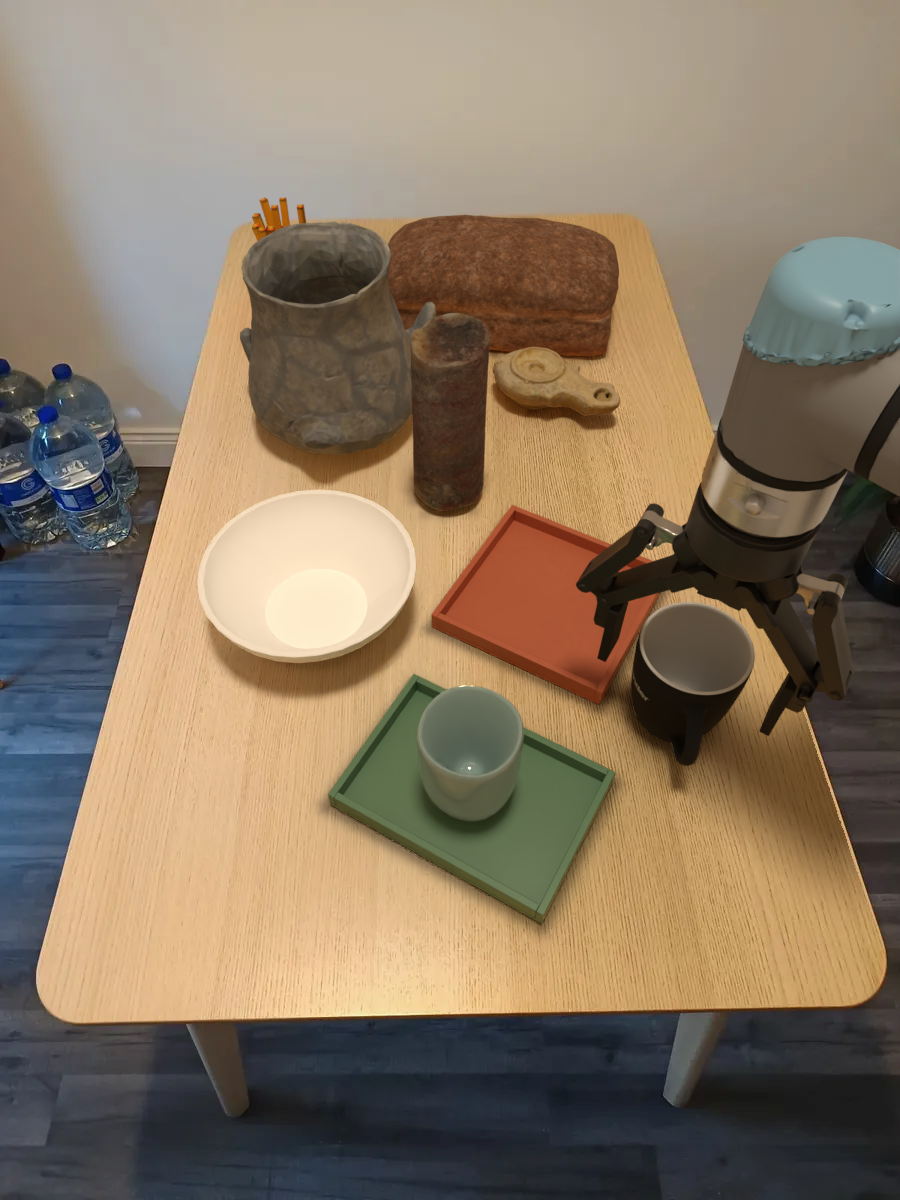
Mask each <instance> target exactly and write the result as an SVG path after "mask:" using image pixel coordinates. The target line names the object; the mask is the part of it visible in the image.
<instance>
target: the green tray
mask: <svg viewBox="0 0 900 1200" xmlns="http://www.w3.org/2000/svg"><path fill="white" fill-rule="evenodd" d="M445 690H448V689H447V688H444V687H442V686H441V685H438V684H436V683H434V682H432V681H430V680H428V679H426V678H424V677H422V676H420V675H418V674H416V673H413V674H412V676H411V677H410V679H409V680H408V681H407V683H406V684H405V685H404V687H403V688H402V690H401V691H400V692H399V694H398V695H397V696H396V698H395V699H394V701H393V702H392V704H391V705H390V706H389V708H388V709H387V711H386V712H385V713H384V715H383V716H382V718H381V719H380V721H379V722H378V723H377V725H376V726H375V727H374V729H373V730H372V732H371V733H370V734H369V736H368V737H367V738H366V740H365V741H364V743H363V744H362V745H361V747H360V748H359V750H358V751H357V753H356V754H355V755H354V757H353V758H352V760H350V762H349V764H348V765H347V766H346V768H345V769H344V770H343V772H342V773H341V775H340V777H339V778H338V779H337V781H336V782H335V783H334V785H333V786H332V788H331V789H330V790H329V791H328V793H327V796H328V800H329V803H330V806H332V807H334V808H336V809H337V810H339V811H341V812H342V813H345V814H346V815H348V816H350V817H352V818H353V819H355V820H357V821H358V822H360V823H362V824H364V825H365V826H368V827H369V828H370V829H373V830H374V831H377V832H378V833H380V834H381V835H383V836H385V837H387V838H389V839H390V840H392V841H394V842H396V843H398V844H399V845H401V846H403V847H404V848H406V849H408V850H410V851H412V852H414V853H415V854H417V855H419V856H421V857H422V858H424V859H426V860H428V861H430V862H431V863H433V864H435V865H436V866H438V867H440V868H442V869H444V870H445V871H447V872H449V873H451V874H452V875H454V876H456V877H458V878H459V879H461V880H464V881H465V882H466V883H468V884H470V885H472V886H474V887H475V888H477V889H478V890H481V891H482V892H485V893H486V894H488V895H489V896H491V897H493V898H495V899H497V900H498V901H500V902H502V903H504V904H506V906H508V907H511V908H513V909H514V910H516V911H518V912H519V913H521V914H523V915H524V916H527V917H528V918H530V919H532V920H534V921H535V922H538V923H539V924H543V922H544V920H545V918H546V916H547V914H548V913H549V910H550V908H551V907H552V904H553V903H554V901H555V899H556V896H557V894H558V893H559V890H560V888H561V887H562V885H563V882H564V881H565V879H566V877H567V874H568V873H569V870H570V869H571V867H572V865H573V862H574V861H575V858H576V857H577V854H578V853H579V851H580V849H581V847H582V845H583V843H584V841H585V840H586V839H585V838H586V837H587V835H588V833H589V831H590V829H591V827H592V825H593V823H594V821H595V819H596V817H597V815H598V813H599V811H600V809H601V807H602V805H603V803H604V801H605V799H606V797H607V795H608V793H609V791H610V789H611V787H612V785H613V783H614V780H615V776H616V771H614V770H612V769H609V768H608V767H606V766H604V765H602V764H600V763H598V762H596V761H594V760H592V759H590V758H588V757H585V756H584V755H582V754H579V753H577V752H576V751H574V750H571V749H569V748H567V747H565V746H563V745H561V744H559V743H557V742H555V741H552V740H551V739H549V738H547V737H544V736H543V735H540V734H539V733H537V732H535V731H532V730H530V729H529V728H527V727H524V726H523V731H524V741H523V750H522V758H521V764H520V770H519V775H518V779H517V782H516V785H515V787H514V790H513V792H512V794H511V796H510V798H509V799H508V801H507V803H506V804H505V805H504V806H503V808H502V809H501V810H500V811H499V812H497V813H496V814H495V815H494V816H492V817H490V818H488V819H486V820H483V821H478V822H466V821H461V820H458V819H455V818H452V817H450V816H448V815H446V814H445V813H443V812H442V811H441V810H439V809H438V808H437V807H436V806H435V805H434V804H433V803H432V801H431V800H430V799H429V797H428V795H427V793H426V791H425V789H424V787H423V783H422V779H421V775H420V770H419V764H418V754H417V729H418V725H419V721H420V719H421V716H422V714H423V712H424V710H425V709H426V707H427V706H428V704H429V703H430V702H431V701H432V700H433V699H434V698H435V697H436V696H437V695H439V694H440V693H442V692H443V691H445Z"/></svg>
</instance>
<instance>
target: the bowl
mask: <svg viewBox="0 0 900 1200" xmlns="http://www.w3.org/2000/svg"><path fill="white" fill-rule="evenodd" d="M416 556H417V555H416V549H415V547H414V544H413V540H412V538H411V535H410V534H409V532H408V531H407V529H406V528H405V526H404V525H403V523H402V522H401V520H399V519H398V518H397V517H396V516H395V515H394V514H393V513H392V512H391V511H389V510H388V509H387V508H385V507H384V506H382V505H380V504H379V503H377V502H375V501H373V500H371V499H369V498H366V497H363V496H361V495H359V494H355V493H350V492H345V491H341V490H335V489H321V488H319V489H318V488H317V489H305V490H303V489H302V490H296V491H292V492H287V493H282V494H277V495H275V496H272V497H269V498H266V499H264V500H261V501H259V502H257V503H255V504H253V505H251V506H250V507H247V508H246V509H244V510H242V511H241V512H239V513H238V514H237V515H236V516H234V517H233V518H231V519H230V520H229V521H227V522H226V523H225V525H223V526H222V527H221V529H219V531H218V532H216V534H215V535H214V536H213V538H212V539H211V541H210V542H209V544H208V545H207V547H206V548H205V551H204V553H203V556H202V557H201V561H200V564H199V566H198V573H197V579H196V580H197V581H196V582H197V583H196V587H197V593H198V599H199V602H200V605H201V606H202V609H203V611H204V613H205V616H206V617H207V619H208V620H209V621H210V622H211V624H212V625H213V626H214V627H215V628H216V630H217V631H218V632H219V633H220V634H221V635H222V636H223V637H225V638H226V639H227V640H229V641H230V642H231V643H233V644H234V645H235V646H236V647H239V648H240V649H242V650H244V651H246V652H248V653H250V654H253V655H254V656H256V657H260V658H263V659H267V660H270V661H274V662H279V663H293V664H305V663H315V662H323V661H326V660H331V659H335V658H339V657H342V656H345V655H347V654H349V653H352V652H355V651H356V650H359V649H361V648H363V647H364V646H366V645H367V644H369V643H371V642H372V641H373V640H375V639H376V638H378V637H379V636H381V634H382V633H384V631H385V630H387V629H388V628H389V627H390V626H391V625H392V624H393V623H394V621H395V620H396V619H397V617H398V616H399V614H400V613H401V611H402V610H403V608H405V606H406V604H407V601H408V599H409V597H410V595H411V592H412V590H413V587H414V584H415V577H416V573H417V557H416Z"/></svg>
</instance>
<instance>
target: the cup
mask: <svg viewBox="0 0 900 1200" xmlns="http://www.w3.org/2000/svg"><path fill="white" fill-rule="evenodd" d="M523 727H524V724H523V720H522V716H521V713H520V711H518V709H517V707H516V706H515V705H514V704H513V702H511V701H510V700H509V699H508V698H506V697H505V696H504V695H502V694H501V693H498V692H497V691H494V690H492V689H489V688H487V687H483V686H477V685H457V686H452V687H450V688H448V689H447V690H445V691H443V692H442V693H440V694H439V695H437V696H436V697H435V698H434V699H433V700H432V701H431V702H430V703H429V704H428V706H427V707H426V709H425V710H424V712H423V714H422V716H421V719H420V721H419V725H418V729H417V754H418V764H419V770H420V775H421V779H422V783H423V787H424V789H425V791H426V793H427V795H428V797H429V799H430V800H431V801H432V803H433V804H434V805H435V806H436V807H437V808H438V809H439V810H441V811H442V812H443V813H445V814H446V815H448V816H450V817H452V818H455V819H458V820H461V821H466V822H478V821H483V820H486V819H488V818H490V817H492V816H494V815H495V814H496V813H497V812H499V811H500V810H501V809H502V808H503V806H504V805H505V804H506V803H507V801H508V799H509V798H510V796H511V794H512V792H513V790H514V787H515V785H516V782H517V779H518V775H519V770H520V764H521V758H522V750H523V741H524V731H523Z"/></svg>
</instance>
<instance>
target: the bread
mask: <svg viewBox="0 0 900 1200" xmlns="http://www.w3.org/2000/svg"><path fill="white" fill-rule="evenodd" d="M387 244H388V246H389V249H390V253H391V260H390V265H389V288H390V291H391V294H392V296H393V299H394V301H395V303H396V306H397V309H398V312H399V315H400V317H401V320H402V322H403V326H404V328H405V330H407V329H408V328H410V327H412V326H413V324H414V322H415V320H416V318H417V316H418V315H419V313H420V311H421V310H422V308H423V306H424V305H425V304H426V303H428V302H433V303H434V304H435V306H436V316H441V315H445V314H449V313H463V314H465V315H468V316H471V317H474V318H476V319H479V320H481V322H482V323H483V324H484V325H485V326H486V328H487V330H488V333H489V337H490V343H489V350H493V351H501V352H502V351H503V352H509V353H511V352H513V351H517V350H521V349H525V348H528V347H541V348H547V349H550V350H552V351H554V352H556V353H558V354H559V355H560V356H571V357H572V356H573V357H595V356H603V355H604V353H606V351H607V349H608V345H609V341H610V336H611V326H612V325H611V324H612V316H613V315H612V314H613V307H614V305H615V303H616V301H617V300H616V299H617V295H618V291H619V277H620V264H619V259H618V254H617V249H616V247H615V244H614V243H613V242H612V241H611V240H610V239H609V238H608V237H607V236H605V235H603V234H602V233H600V232H597V231H595V230H592V229H590V228H588V227H584V226H582V225H576V224H572V223H568V222H561V221H555V220H549V219H546V218H540V217H496V216H488V215H473V214H472V215H471V214H456V215H455V214H453V215H438V216H432V217H431V216H430V217H423V218H420V219H418V220H415V221H411V222H408V223H405V224H404V225H402V226H401V227H400V228H399V229H398V230H397V231H396V232H394V234H393V235H392V236H391V238H390V239H389V240H388V242H387Z"/></svg>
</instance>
